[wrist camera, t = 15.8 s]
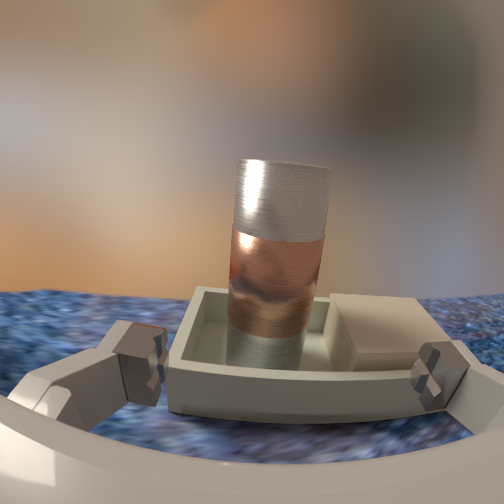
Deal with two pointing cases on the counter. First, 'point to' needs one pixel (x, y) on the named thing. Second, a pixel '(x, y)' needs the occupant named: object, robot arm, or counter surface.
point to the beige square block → (377, 332)
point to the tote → (275, 377)
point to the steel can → (274, 261)
